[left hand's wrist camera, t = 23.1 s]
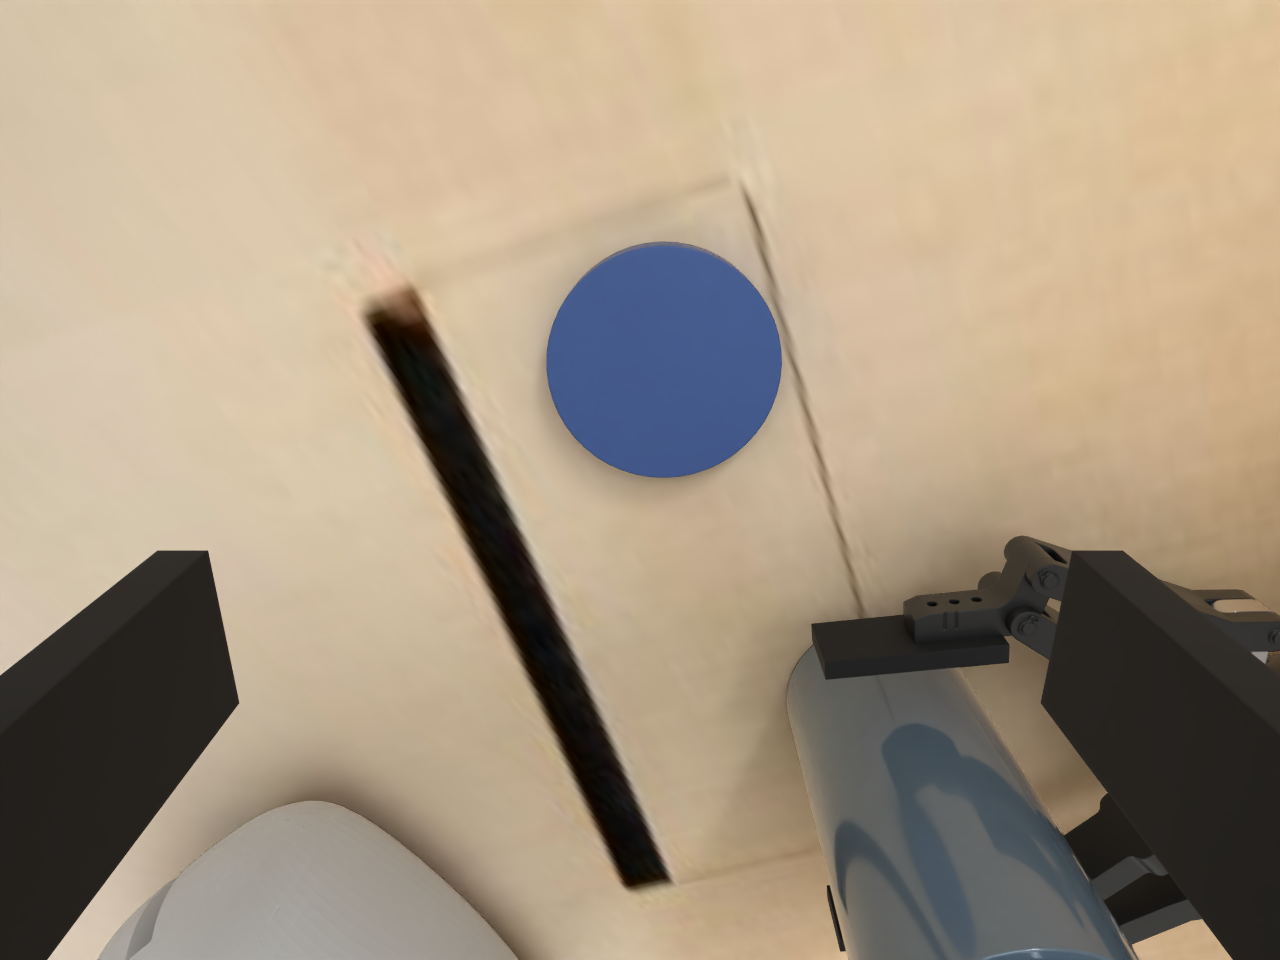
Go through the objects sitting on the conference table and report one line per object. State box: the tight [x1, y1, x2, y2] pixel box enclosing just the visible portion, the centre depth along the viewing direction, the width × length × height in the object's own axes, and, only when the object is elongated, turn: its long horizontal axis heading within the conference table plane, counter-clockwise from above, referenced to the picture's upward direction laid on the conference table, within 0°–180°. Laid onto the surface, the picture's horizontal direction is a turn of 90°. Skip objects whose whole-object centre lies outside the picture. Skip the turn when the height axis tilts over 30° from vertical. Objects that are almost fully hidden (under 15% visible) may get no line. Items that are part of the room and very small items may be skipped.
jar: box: [786, 645, 1141, 960], centre depth 30 cm, size 8×8×19 cm
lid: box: [547, 242, 782, 478], centre depth 32 cm, size 9×9×2 cm
